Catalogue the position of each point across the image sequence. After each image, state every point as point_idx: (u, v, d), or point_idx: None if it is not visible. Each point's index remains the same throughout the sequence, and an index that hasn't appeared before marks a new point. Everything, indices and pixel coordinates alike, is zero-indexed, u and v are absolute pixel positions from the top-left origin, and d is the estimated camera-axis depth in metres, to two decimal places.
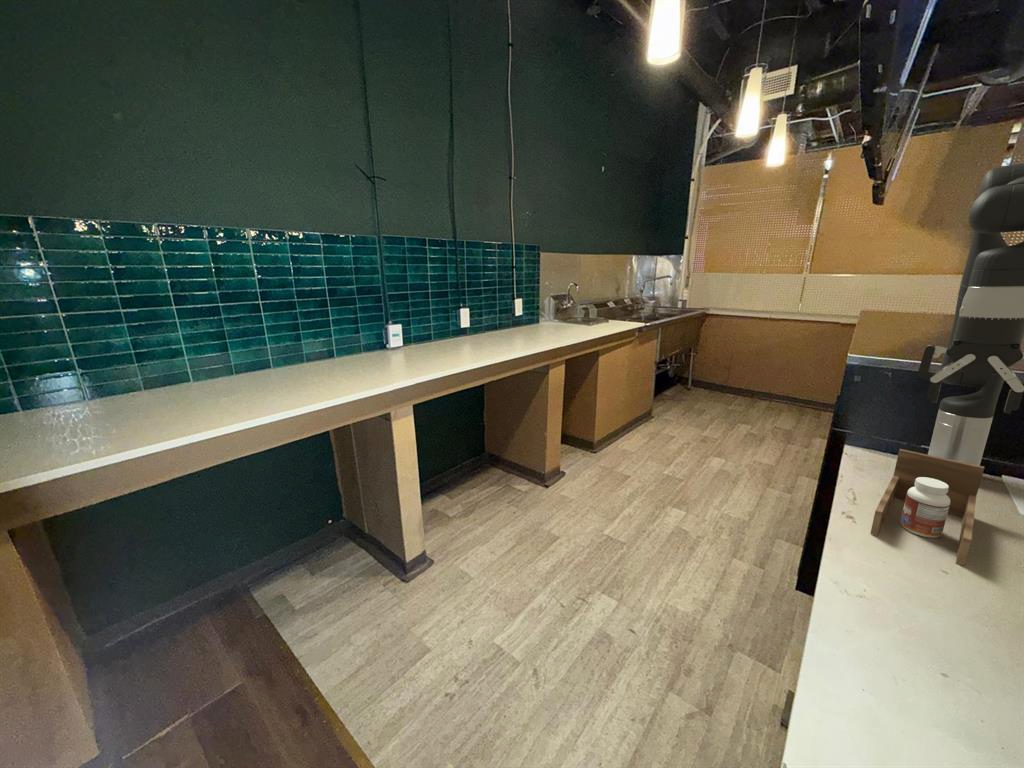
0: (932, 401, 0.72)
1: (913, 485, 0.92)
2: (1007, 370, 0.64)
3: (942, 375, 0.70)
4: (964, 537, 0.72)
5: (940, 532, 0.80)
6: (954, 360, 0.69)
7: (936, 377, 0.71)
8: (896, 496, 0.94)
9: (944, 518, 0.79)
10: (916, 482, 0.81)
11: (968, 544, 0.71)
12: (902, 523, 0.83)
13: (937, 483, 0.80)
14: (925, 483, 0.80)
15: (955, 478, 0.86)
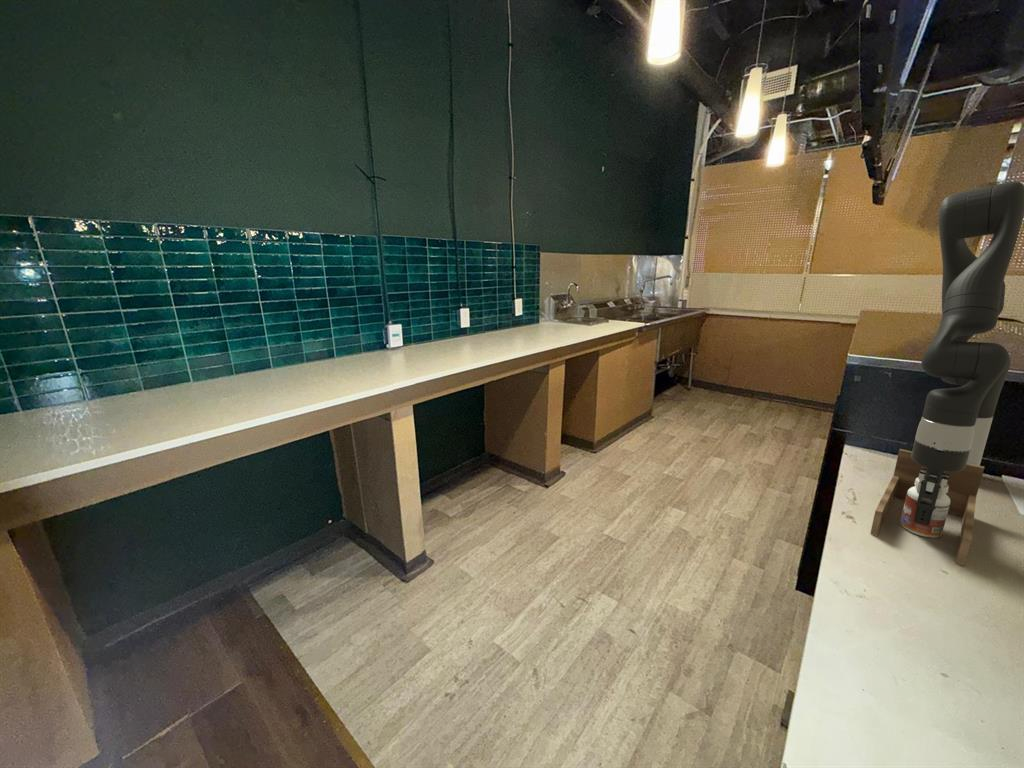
0: (928, 524, 0.79)
1: (913, 485, 0.92)
2: None
3: None
4: (964, 537, 0.72)
5: (940, 532, 0.80)
6: None
7: None
8: (896, 496, 0.94)
9: (944, 518, 0.79)
10: (916, 482, 0.81)
11: (968, 544, 0.71)
12: (902, 523, 0.83)
13: None
14: None
15: (955, 478, 0.86)
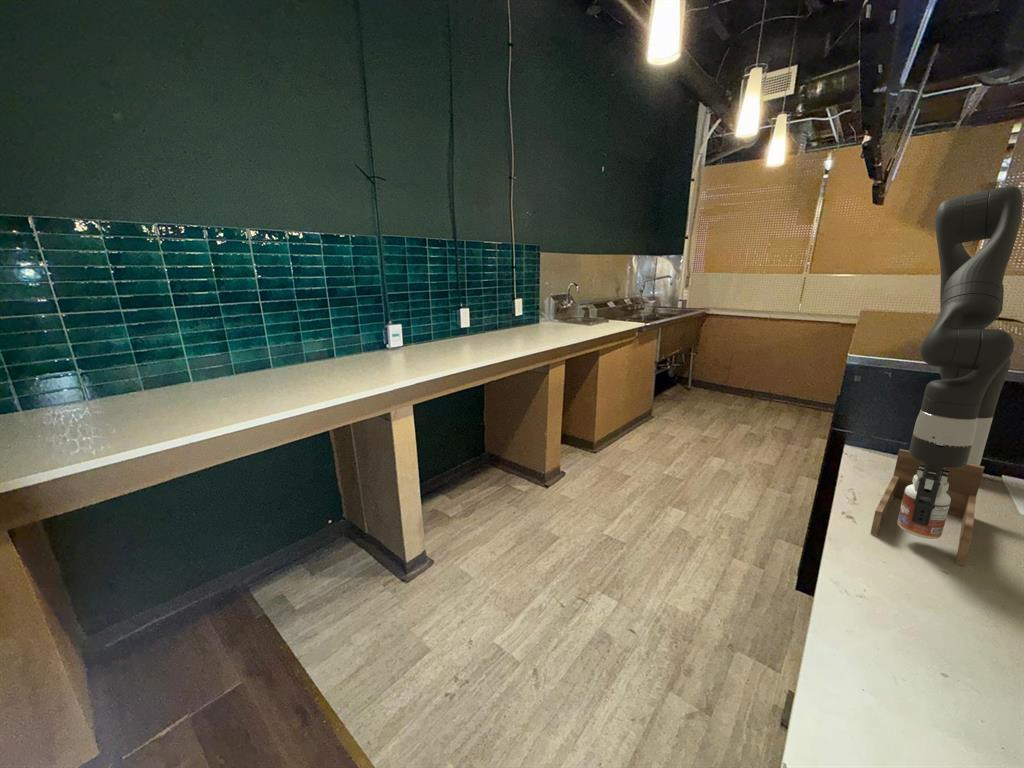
0: (927, 524, 0.74)
1: None
2: None
3: None
4: (964, 537, 0.72)
5: (940, 533, 0.75)
6: None
7: None
8: (896, 496, 0.94)
9: (944, 518, 0.74)
10: (914, 480, 0.76)
11: (968, 544, 0.71)
12: (899, 523, 0.78)
13: None
14: None
15: (955, 478, 0.86)
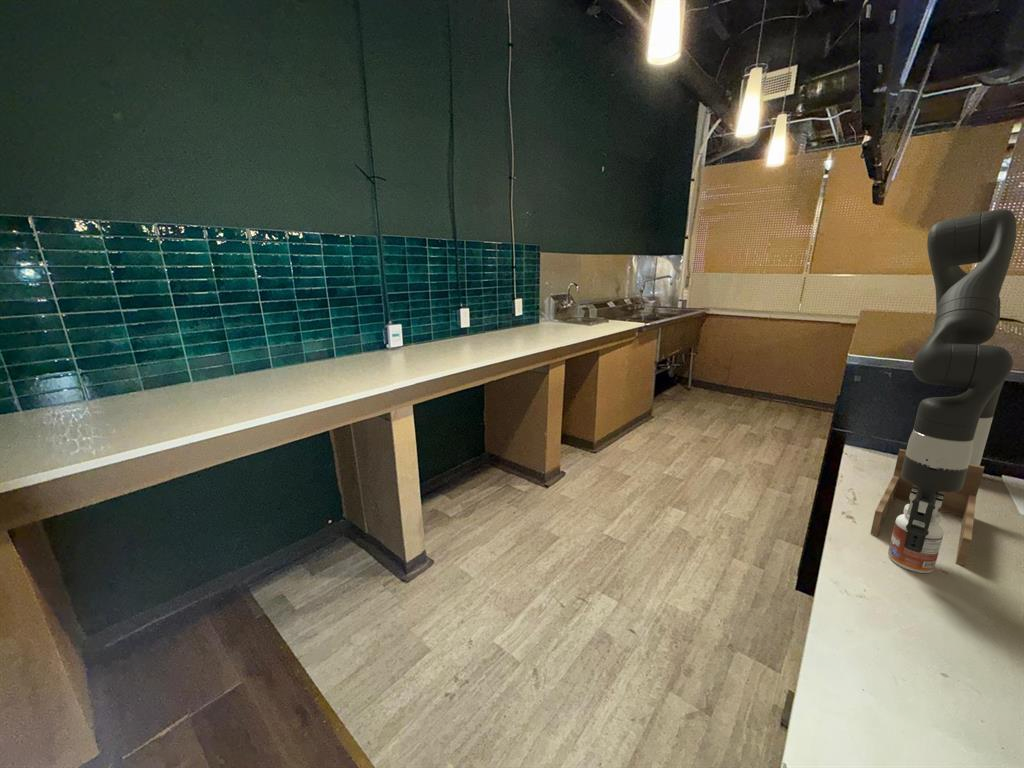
0: (920, 551, 0.69)
1: (913, 485, 0.92)
2: None
3: None
4: (964, 537, 0.72)
5: (932, 567, 0.70)
6: None
7: None
8: (896, 496, 0.94)
9: (937, 551, 0.70)
10: (905, 510, 0.72)
11: (968, 544, 0.71)
12: (890, 555, 0.74)
13: None
14: None
15: None
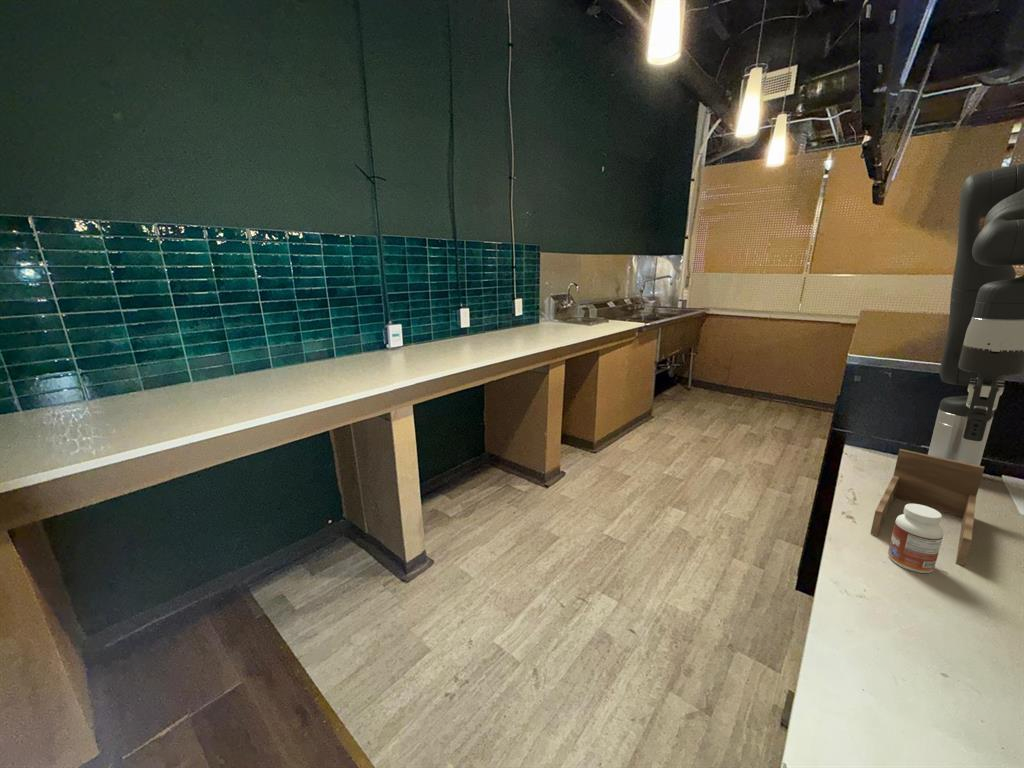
0: (981, 440, 0.68)
1: (913, 485, 0.92)
2: None
3: None
4: (964, 537, 0.72)
5: (932, 567, 0.70)
6: None
7: None
8: (896, 496, 0.94)
9: (937, 551, 0.70)
10: (905, 510, 0.72)
11: (968, 544, 0.71)
12: (890, 555, 0.74)
13: (929, 511, 0.70)
14: (915, 511, 0.71)
15: (955, 478, 0.86)
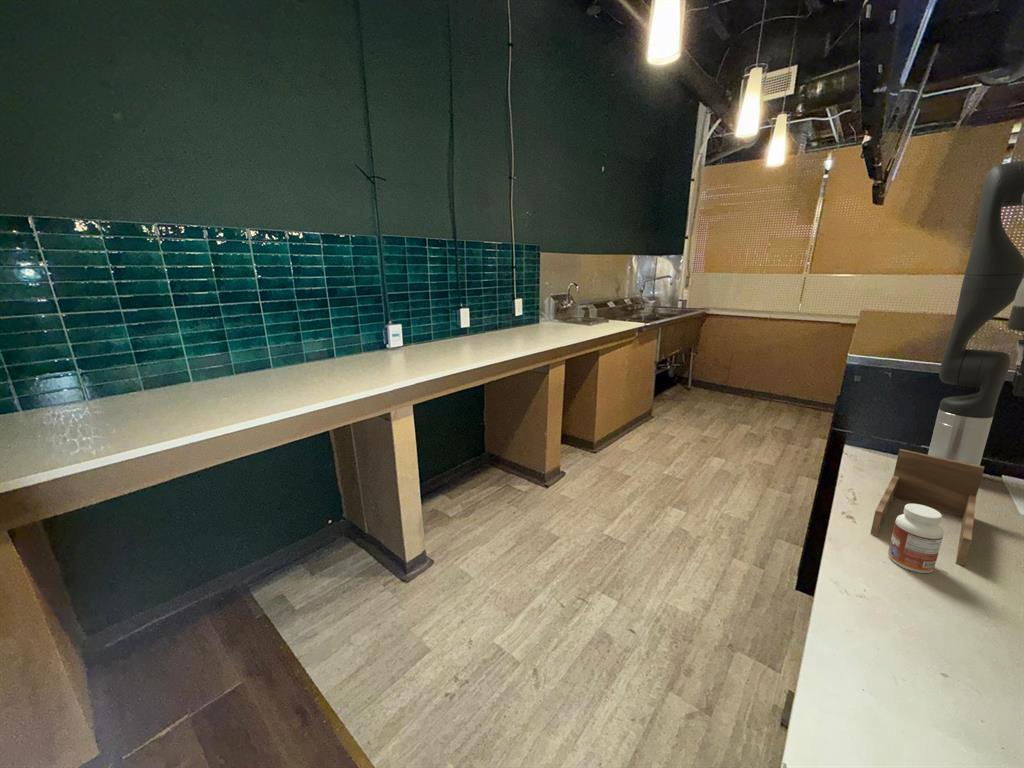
0: None
1: (913, 485, 0.92)
2: None
3: None
4: (964, 537, 0.72)
5: (932, 567, 0.70)
6: None
7: None
8: (896, 496, 0.94)
9: (936, 551, 0.70)
10: (905, 510, 0.72)
11: (968, 544, 0.71)
12: (890, 555, 0.74)
13: (929, 511, 0.70)
14: (915, 511, 0.71)
15: (955, 478, 0.86)
